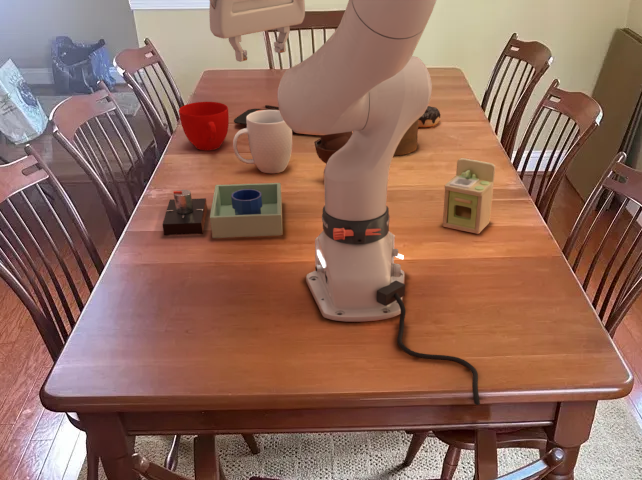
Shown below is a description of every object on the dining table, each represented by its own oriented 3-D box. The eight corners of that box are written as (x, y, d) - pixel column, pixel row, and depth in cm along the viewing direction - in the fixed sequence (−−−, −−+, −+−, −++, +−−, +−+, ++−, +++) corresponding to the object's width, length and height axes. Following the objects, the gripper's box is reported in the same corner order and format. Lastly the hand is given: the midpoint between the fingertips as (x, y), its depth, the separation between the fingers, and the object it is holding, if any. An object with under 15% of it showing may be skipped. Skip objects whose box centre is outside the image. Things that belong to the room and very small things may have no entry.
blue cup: (263, 224, 152) (261, 200, 148) (233, 225, 151) (230, 201, 148) (263, 212, 157) (261, 188, 153) (234, 213, 156) (232, 189, 153)
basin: (282, 237, 148) (281, 214, 145) (212, 240, 147) (209, 217, 144) (281, 204, 162) (280, 182, 159) (218, 206, 161) (215, 184, 158)
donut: (438, 116, 213) (439, 103, 210) (441, 129, 204) (442, 115, 201) (401, 116, 213) (402, 103, 211) (403, 129, 204) (404, 115, 201)
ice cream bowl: (355, 192, 167) (355, 127, 158) (310, 188, 169) (307, 124, 160) (363, 175, 175) (364, 113, 166) (320, 172, 177) (318, 111, 168)
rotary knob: (194, 206, 153) (191, 187, 150) (192, 213, 150) (189, 194, 148) (177, 207, 153) (174, 188, 150) (175, 214, 150) (172, 194, 147)
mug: (239, 181, 173) (234, 126, 165) (232, 165, 181) (226, 113, 173) (298, 174, 176) (296, 120, 168) (288, 159, 184) (285, 107, 176)
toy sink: (440, 227, 152) (445, 167, 144) (453, 215, 157) (458, 156, 149) (477, 236, 148) (484, 175, 140) (489, 223, 153) (497, 163, 145)
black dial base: (203, 236, 149) (201, 222, 147) (164, 237, 148) (162, 223, 146) (207, 210, 159) (205, 197, 157) (171, 212, 158) (169, 198, 156)
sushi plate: (230, 128, 205) (229, 114, 202) (271, 100, 227) (270, 87, 225) (324, 138, 197) (323, 124, 195) (356, 108, 220) (356, 95, 217)
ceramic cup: (192, 162, 183) (187, 122, 177) (179, 142, 195) (174, 104, 189) (241, 155, 187) (237, 116, 181) (225, 136, 199) (221, 99, 193)
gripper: (218, -18, 120) (227, 69, 128) (308, -31, 131) (311, 50, 139) (197, -23, 123) (207, 62, 132) (286, -35, 134) (290, 44, 143)
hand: (261, 56), depth 136 cm, fingers open, 8 cm apart
